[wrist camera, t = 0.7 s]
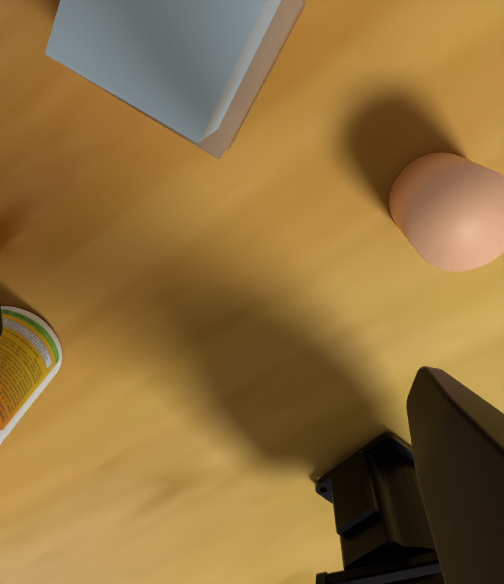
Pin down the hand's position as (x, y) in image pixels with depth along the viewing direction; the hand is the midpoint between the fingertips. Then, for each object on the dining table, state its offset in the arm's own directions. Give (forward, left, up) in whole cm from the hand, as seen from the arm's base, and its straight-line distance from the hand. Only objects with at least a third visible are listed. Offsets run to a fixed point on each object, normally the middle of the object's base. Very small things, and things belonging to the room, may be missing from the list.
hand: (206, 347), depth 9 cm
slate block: (+6, -4, -9) cm, 11 cm away
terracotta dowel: (-6, -6, -13) cm, 15 cm away
